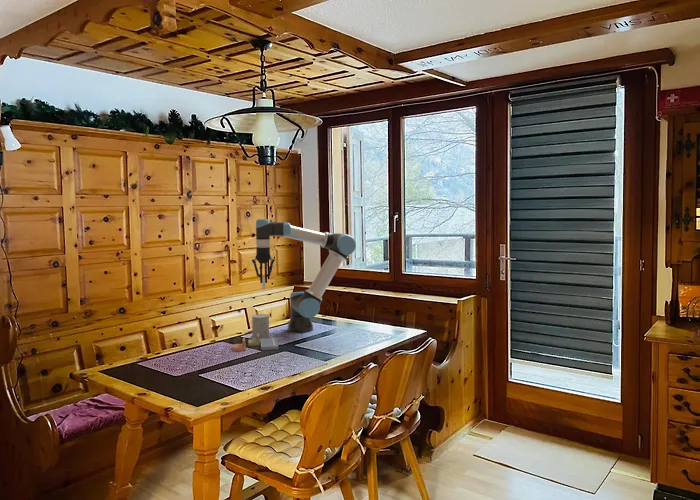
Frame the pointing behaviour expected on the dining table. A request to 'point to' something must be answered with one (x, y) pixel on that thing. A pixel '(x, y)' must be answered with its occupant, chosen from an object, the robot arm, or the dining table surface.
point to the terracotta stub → (240, 346)
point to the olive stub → (254, 341)
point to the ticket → (269, 343)
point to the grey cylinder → (260, 326)
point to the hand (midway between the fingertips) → (263, 288)
